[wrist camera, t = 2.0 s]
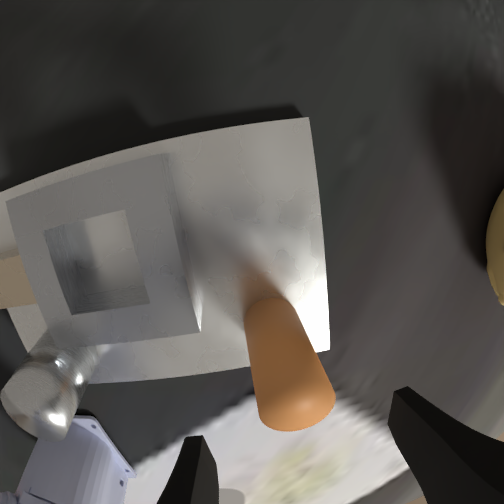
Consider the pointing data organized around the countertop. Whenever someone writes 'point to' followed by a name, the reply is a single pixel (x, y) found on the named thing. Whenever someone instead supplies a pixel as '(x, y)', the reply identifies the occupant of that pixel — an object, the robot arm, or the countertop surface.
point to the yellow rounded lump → (496, 248)
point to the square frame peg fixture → (66, 269)
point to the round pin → (285, 368)
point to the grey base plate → (202, 260)
